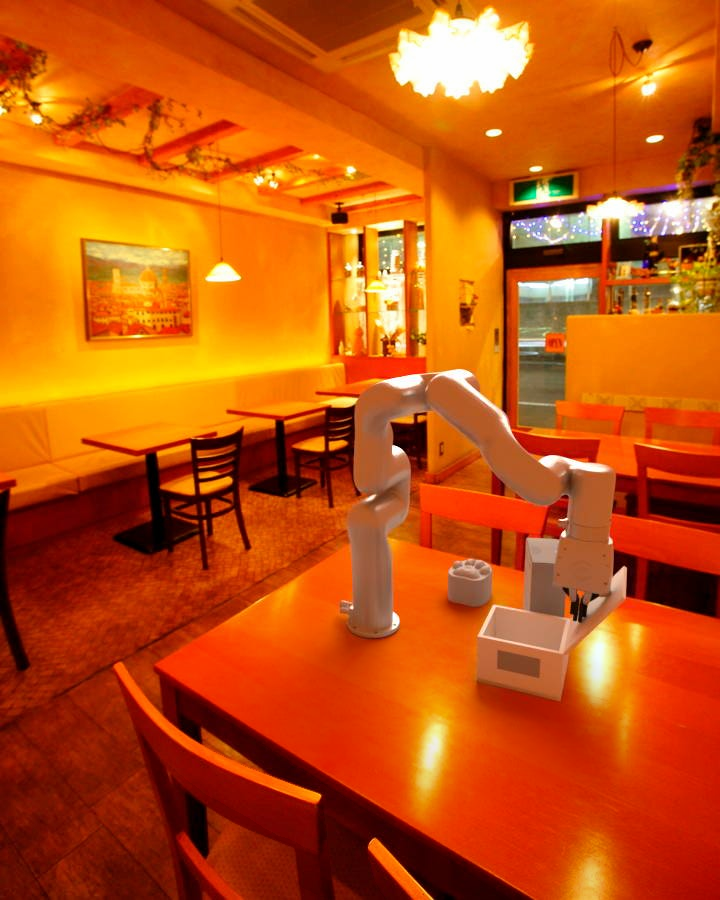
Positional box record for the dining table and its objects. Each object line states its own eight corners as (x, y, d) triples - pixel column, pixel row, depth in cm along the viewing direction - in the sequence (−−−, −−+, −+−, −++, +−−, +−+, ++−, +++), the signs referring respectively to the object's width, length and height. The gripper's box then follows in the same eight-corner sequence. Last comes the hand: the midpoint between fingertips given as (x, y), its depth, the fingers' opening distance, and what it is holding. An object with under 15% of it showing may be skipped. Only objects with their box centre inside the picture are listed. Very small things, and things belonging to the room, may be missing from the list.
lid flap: (622, 597, 99) (626, 599, 99) (624, 565, 111) (627, 568, 111) (563, 653, 106) (566, 655, 106) (570, 617, 118) (573, 620, 118)
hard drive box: (563, 649, 125) (568, 565, 120) (527, 646, 126) (530, 563, 122) (554, 614, 140) (558, 537, 135) (521, 612, 141) (524, 536, 137)
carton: (476, 681, 115) (477, 636, 112) (492, 645, 127) (493, 604, 125) (560, 701, 108) (563, 654, 106) (568, 661, 120) (570, 618, 118)
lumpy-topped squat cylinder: (443, 600, 149) (443, 569, 147) (461, 580, 159) (461, 551, 157) (481, 609, 143) (482, 577, 141) (497, 588, 154) (498, 558, 152)
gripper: (542, 529, 106) (534, 618, 110) (631, 544, 100) (619, 638, 104) (548, 517, 112) (540, 601, 117) (632, 529, 106) (620, 618, 111)
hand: (577, 618), depth 110 cm, fingers closed
